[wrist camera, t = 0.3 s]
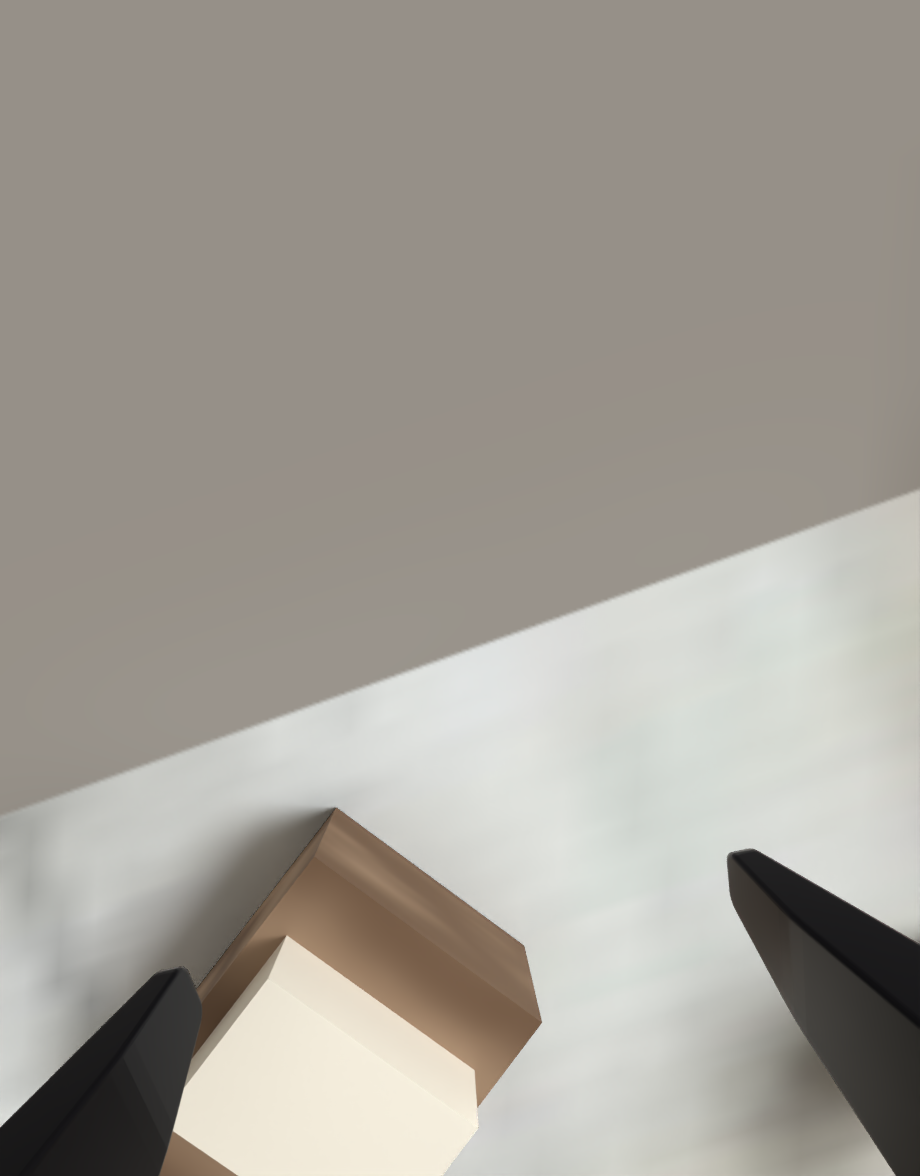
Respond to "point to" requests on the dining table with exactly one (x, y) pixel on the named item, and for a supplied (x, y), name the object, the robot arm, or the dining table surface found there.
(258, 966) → the brown flat block
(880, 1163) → the dining table surface
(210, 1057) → the cream chamfered block
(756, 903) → the robot arm
